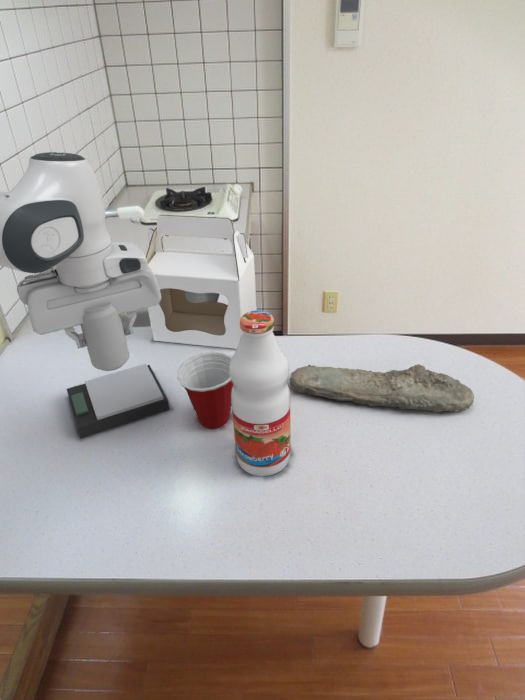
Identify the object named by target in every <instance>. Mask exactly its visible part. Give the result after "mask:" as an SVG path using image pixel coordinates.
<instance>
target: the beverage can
mask: <svg viewBox="0 0 525 700" xmlns="http://www.w3.org/2000/svg"><path fill="white" fill-rule="evenodd" d="M111 305H112V303H111V304H107V305H105V306H100V307H97V308H92V309H87V310H84V311H85V314H84V316H83V320H84V324H82V325H80V329H81V332H82V333H83V336H84V338H85V341H86V344H87V346H86V349H87V353H88V356H89V359H90V363H91V365H92V367H93V368H95V369H97V370H99V371H103V372H112V371H115V370H116V371H117V370H119V369H121V368H122V367H123V366H125V364H126V363H127V362H128V361H129V359H130V357H131V356H130V351H129V346H128V343H127V339H126V336H125V333H124V329H123V325H122V323H123V321H122V316H121V315H118V314H117V310H116V309H115V308H114V307H112V306H111Z"/></svg>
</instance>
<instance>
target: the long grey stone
mask: <svg viewBox="0 0 525 700" xmlns="http://www.w3.org/2000/svg"><path fill="white" fill-rule="evenodd" d="M288 379H289V386H290V388H292V390H293V391H294V392H297V393H302V394H307V395H308V394H309V395H311V396H315V397H323V398H326V399H333V400H335V401H338V402H339V401H340V402H342V401H345V402H347V401H348V402H351V403H355V404H359V405H361V404H364V405H367V406H369V407H375V406H377V407H379V406H382V407H383V406H384V407H391V408H399V410H412V411H413V410H417V411H427V412H435V413H442V412H443V411H444V412H458V411H464V410H466V409H467V410H468V409H470V407H472V406H473V403H474V399H475V396H474V391H473V390H472V389H471V388H470V387H469V386H468V385H465V384H462V383H461V381H460V380H459V379H455V378H453V376H452V377H451V376H450V375H448V374H445V373H441V372H436V371H432V370H430V369H426V367H425V365H422V364H420V363H419V364H414V365H413V366H410V367H409V368H407V369H402V370H398V369H397V370H396V369H391V370H389V371H385V372H381V371H372V370H366V369H359V368H357V369H354V368H344V367H333V366H317V365H312V364H308V365H307V366H305V365H304V366H302V367H297V368H296V369H295V370H293V371H292V372H291V374H290V378H288Z"/></svg>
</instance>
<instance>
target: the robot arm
mask: <svg viewBox="0 0 525 700" xmlns="http://www.w3.org/2000/svg"><path fill="white" fill-rule="evenodd" d="M103 199H104V198H103V195H102V191H101V188H100V185H99V181H98V179H97V175H96V173H95V170H94V169H93V167H92V165H91V164H90V162H89V160H87V158H85V157H84V156H82V155H79V154H75V153H69V152H56V151H51V152H50V151H49V152H39V153H36V154H33V155H31V156H30V157H29V159H28V166H27V168H26V171H25V172H24V174H23V176H22V177H21V178H20V179H19V181H18V182H17V183H16V184H15V185H14V186H13V187H12V188H11V189H10V190H8V191H2V190H0V267H3V268H7V269H11V270H14V271H18V272H21V273H28V274H29V275H26V276H24V279H22V280H20V281H19V283H18V284H17V286H16V292H17V295H18V299H19V300H20V302H21V303H23V304H24V305H27V311H28V316H29V320H30V324H31V328H32V331H33V332H35V333H36V334H38V335H39V336H43V335H46V334H51V333H55V332H58V331H62V330H64V332H65V335H66V336H68V337H69V338H71V339H72V340H73V341H74V342H75V344H76V347H77V349H78V350H79V349H82V348H85V347H86V348H87V344H86V341H85V338H84V336H83V332H82V333H78V332H77V331H75V327H78V326H81V325H82V324H84V320H83V316H84V314H85V311H84V310H87V309H92V308H97V307H100V306H105V305H107V304H111V303H112V305H111V306H112V307H114V308H115V309H116V310H117V314H118V315H120V316H121V315H124V314H127V317H126V319H125V321H122V325H123V329H124V333H125V337H126V336H129V335H134V327H133V326H134V324H135V321H136V319H137V316H138V315H137V311H140V310H143V309H148V307H152V306H156V305H158V304H159V302H160V301H161V293H160V289H159V285H158V282H157V280H156V277H155V275H154V273H153V272H152V270H151V269H150V267H149V266H148V264H147V259H146V254H145V252H144V251H143V250H142V248H141V247H140V246H139V245H137V243H135V242H130V241H129V242H128V241H127V242H126V241H115V240H112V236H111V234H110V232H109V230H108V228H107V226H106V209H105V204H104V200H103ZM53 267H54V268H55V269H52V268H53Z"/></svg>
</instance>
